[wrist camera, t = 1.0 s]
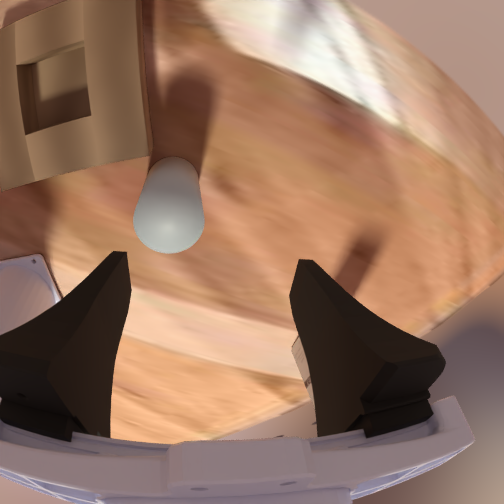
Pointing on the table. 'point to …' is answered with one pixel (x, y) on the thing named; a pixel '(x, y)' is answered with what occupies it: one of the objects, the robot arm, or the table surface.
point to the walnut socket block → (72, 90)
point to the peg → (170, 207)
